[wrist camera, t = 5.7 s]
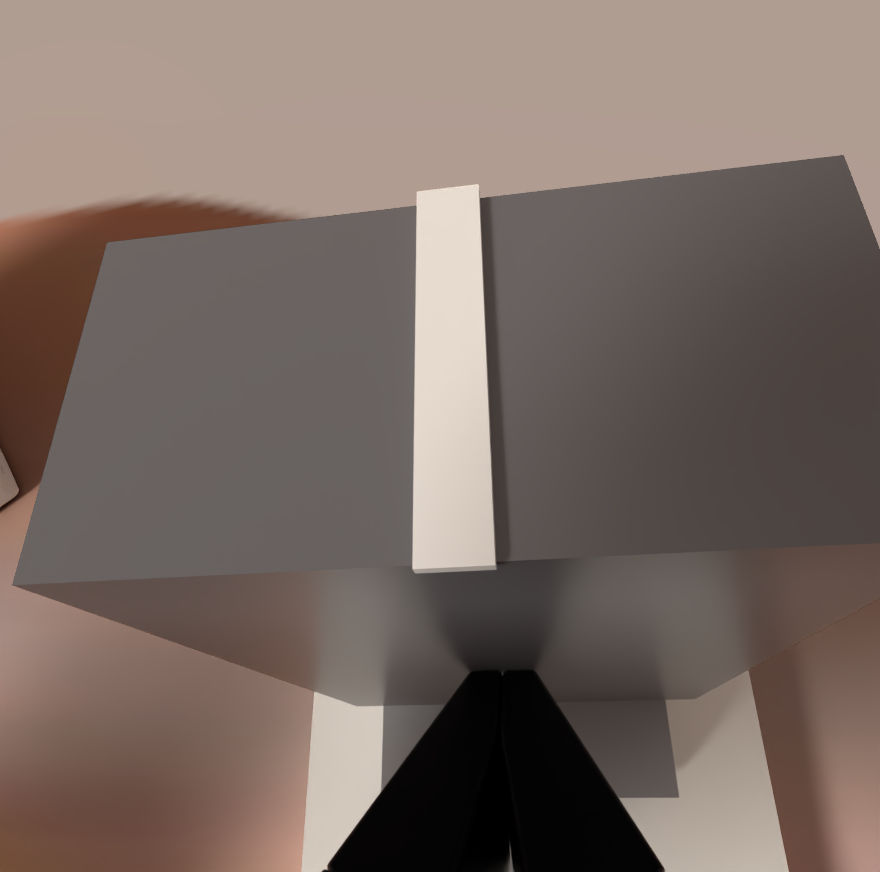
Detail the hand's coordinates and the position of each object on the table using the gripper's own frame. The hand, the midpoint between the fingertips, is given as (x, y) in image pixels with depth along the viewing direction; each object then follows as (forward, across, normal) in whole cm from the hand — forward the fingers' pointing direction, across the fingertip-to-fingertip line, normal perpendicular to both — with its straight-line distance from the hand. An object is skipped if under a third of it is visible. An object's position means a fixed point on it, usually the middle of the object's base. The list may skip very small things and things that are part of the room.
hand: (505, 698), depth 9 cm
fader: (+5, 0, +2) cm, 6 cm away
